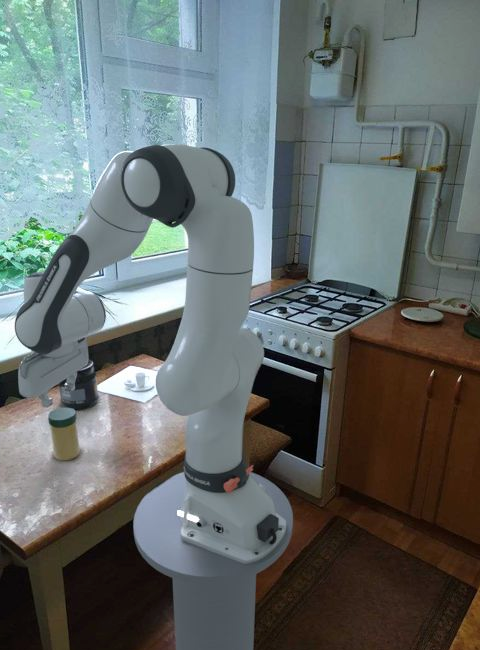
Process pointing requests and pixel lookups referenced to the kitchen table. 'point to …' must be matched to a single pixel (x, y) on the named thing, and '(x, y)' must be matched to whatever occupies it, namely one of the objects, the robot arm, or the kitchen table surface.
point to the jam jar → (65, 442)
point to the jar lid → (62, 417)
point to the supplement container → (81, 389)
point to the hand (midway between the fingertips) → (59, 397)
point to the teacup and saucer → (131, 384)
